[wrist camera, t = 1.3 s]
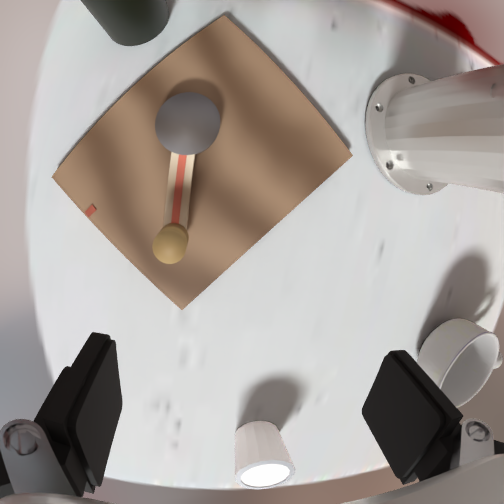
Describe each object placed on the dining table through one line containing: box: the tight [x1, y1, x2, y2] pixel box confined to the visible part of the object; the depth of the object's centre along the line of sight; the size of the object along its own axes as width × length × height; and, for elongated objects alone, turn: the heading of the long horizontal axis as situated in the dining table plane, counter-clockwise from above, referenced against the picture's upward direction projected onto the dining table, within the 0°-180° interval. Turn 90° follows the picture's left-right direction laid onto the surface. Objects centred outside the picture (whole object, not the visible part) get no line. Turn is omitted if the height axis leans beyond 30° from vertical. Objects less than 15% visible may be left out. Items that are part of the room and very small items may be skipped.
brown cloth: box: [52, 15, 353, 310], centre depth 24 cm, size 20×17×1 cm
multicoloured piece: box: [152, 92, 220, 264], centre depth 22 cm, size 13×5×4 cm, turn 172°
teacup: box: [417, 318, 503, 408], centre depth 31 cm, size 14×11×8 cm
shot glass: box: [235, 421, 295, 489], centre depth 31 cm, size 7×7×7 cm
